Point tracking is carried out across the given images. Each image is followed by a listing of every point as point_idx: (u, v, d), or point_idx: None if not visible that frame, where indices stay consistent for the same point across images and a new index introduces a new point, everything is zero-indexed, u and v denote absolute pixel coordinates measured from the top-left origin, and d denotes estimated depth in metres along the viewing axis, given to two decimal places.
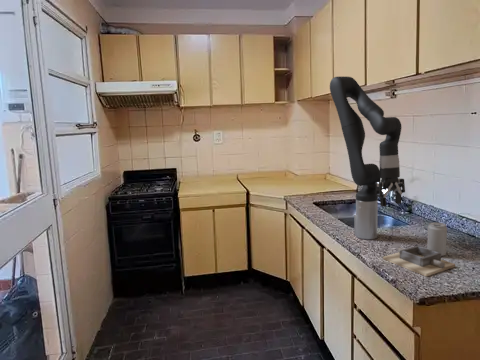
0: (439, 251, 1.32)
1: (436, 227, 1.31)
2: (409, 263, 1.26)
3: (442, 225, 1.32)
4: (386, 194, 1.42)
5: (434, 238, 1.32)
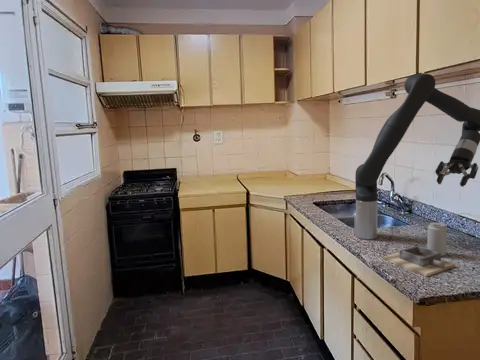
0: (439, 251, 1.32)
1: (436, 227, 1.31)
2: (409, 263, 1.26)
3: (442, 225, 1.32)
4: None
5: (434, 238, 1.32)
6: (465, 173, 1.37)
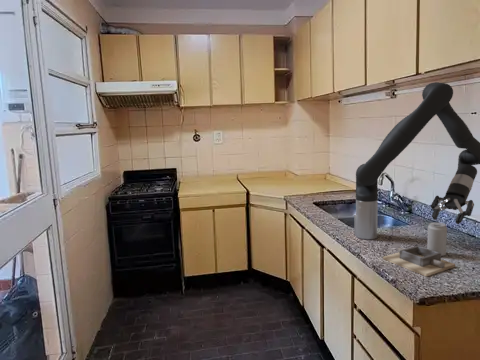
0: (439, 251, 1.32)
1: (436, 227, 1.31)
2: (409, 263, 1.26)
3: (442, 225, 1.32)
4: None
5: (434, 238, 1.32)
6: (461, 210, 1.34)
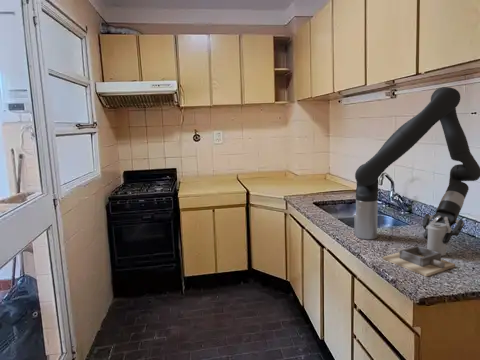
0: (439, 251, 1.32)
1: (436, 227, 1.31)
2: (409, 263, 1.26)
3: (442, 225, 1.32)
4: None
5: (434, 238, 1.32)
6: (448, 230, 1.31)
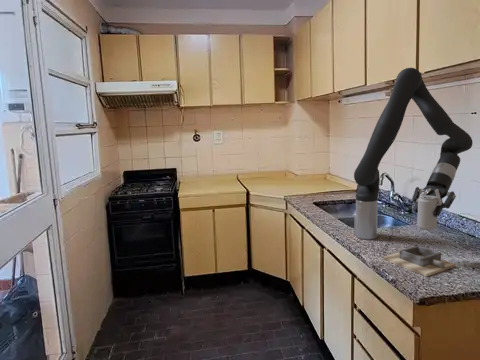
0: (429, 224, 1.26)
1: (426, 199, 1.25)
2: (409, 263, 1.26)
3: (433, 197, 1.26)
4: None
5: (425, 211, 1.26)
6: (439, 202, 1.25)
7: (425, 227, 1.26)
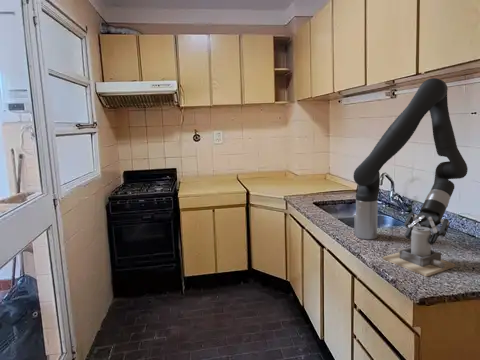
0: None
1: (420, 231, 1.24)
2: (409, 263, 1.26)
3: (426, 229, 1.25)
4: None
5: (418, 243, 1.25)
6: (435, 230, 1.24)
7: None
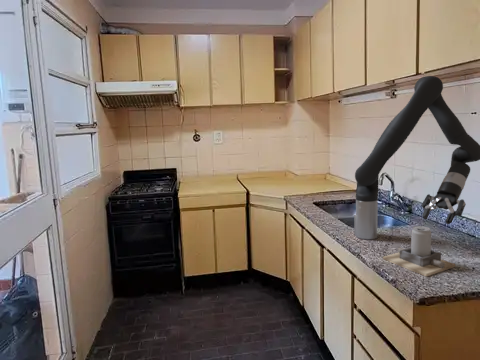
0: None
1: (420, 231, 1.24)
2: (409, 263, 1.26)
3: (426, 229, 1.25)
4: None
5: (418, 243, 1.25)
6: (451, 210, 1.30)
7: None
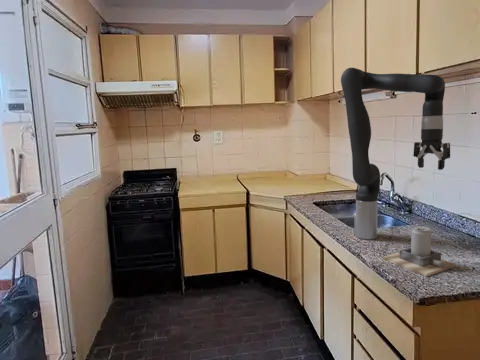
0: None
1: (420, 231, 1.24)
2: (409, 263, 1.26)
3: (426, 229, 1.25)
4: (441, 156, 1.36)
5: (418, 243, 1.25)
6: (439, 157, 1.35)
7: None
